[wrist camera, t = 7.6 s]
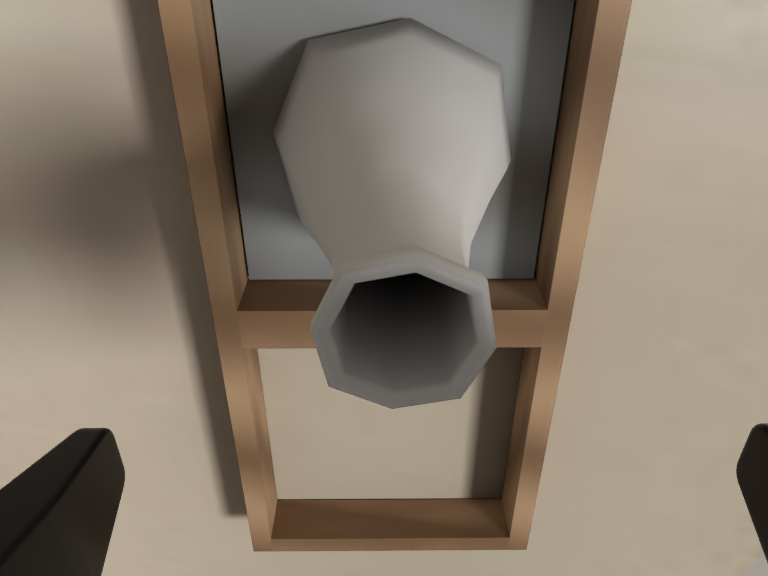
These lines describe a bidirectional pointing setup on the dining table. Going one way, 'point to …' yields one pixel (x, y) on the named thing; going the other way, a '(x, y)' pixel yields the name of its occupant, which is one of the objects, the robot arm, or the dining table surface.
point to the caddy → (314, 272)
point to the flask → (397, 204)
